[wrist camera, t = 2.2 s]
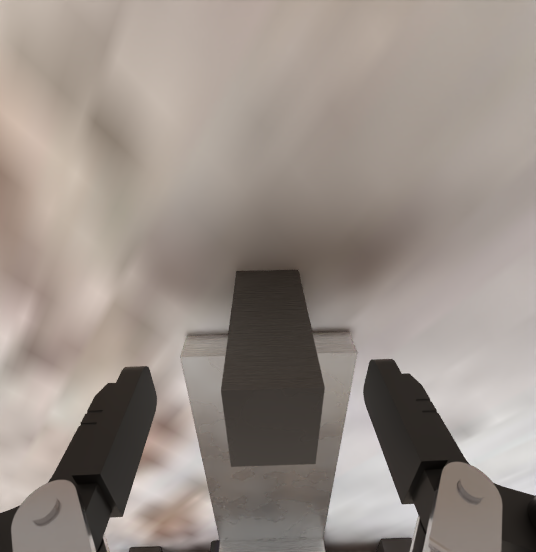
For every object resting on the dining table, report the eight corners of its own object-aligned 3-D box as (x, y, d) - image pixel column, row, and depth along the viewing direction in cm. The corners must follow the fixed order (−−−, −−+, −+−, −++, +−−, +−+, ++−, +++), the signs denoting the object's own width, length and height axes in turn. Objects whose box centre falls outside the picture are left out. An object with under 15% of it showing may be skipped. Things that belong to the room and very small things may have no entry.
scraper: (359, 268, 15) (427, 385, 9) (318, 526, 29) (334, 638, 23) (174, 272, 15) (115, 393, 9) (223, 529, 29) (214, 643, 23)
